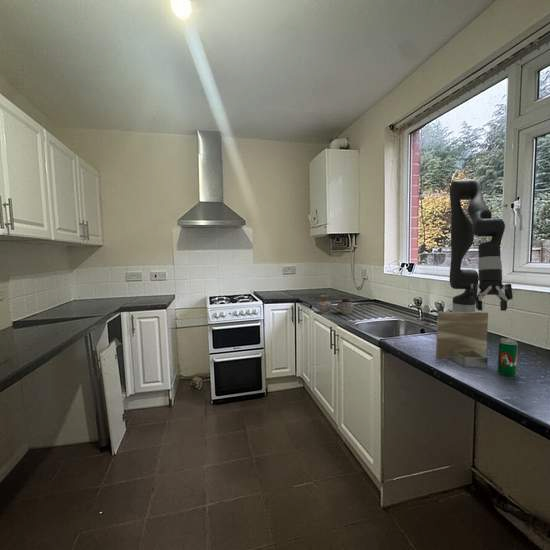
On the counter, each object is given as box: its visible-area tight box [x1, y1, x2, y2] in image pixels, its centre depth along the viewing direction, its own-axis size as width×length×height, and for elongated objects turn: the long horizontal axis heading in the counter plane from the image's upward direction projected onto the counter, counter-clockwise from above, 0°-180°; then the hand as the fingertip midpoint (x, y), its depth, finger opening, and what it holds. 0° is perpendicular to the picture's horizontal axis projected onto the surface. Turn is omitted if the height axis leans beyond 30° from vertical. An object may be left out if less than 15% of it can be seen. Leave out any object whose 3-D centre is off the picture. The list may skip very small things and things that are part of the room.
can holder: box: [449, 349, 488, 369], centre depth 114 cm, size 10×8×4 cm
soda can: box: [496, 337, 519, 378], centre depth 103 cm, size 5×5×12 cm
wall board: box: [435, 311, 489, 359], centre depth 119 cm, size 2×18×18 cm, turn 84°
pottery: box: [316, 294, 355, 316], centre depth 205 cm, size 11×25×12 cm, turn 79°
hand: (491, 310), depth 118 cm, fingers open, 8 cm apart
